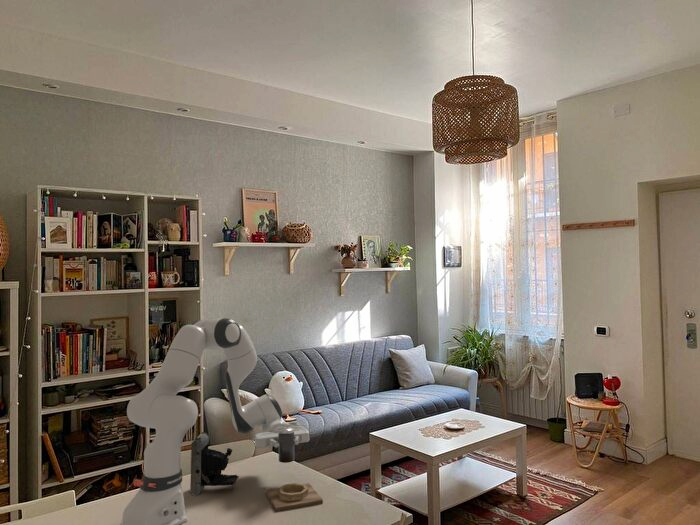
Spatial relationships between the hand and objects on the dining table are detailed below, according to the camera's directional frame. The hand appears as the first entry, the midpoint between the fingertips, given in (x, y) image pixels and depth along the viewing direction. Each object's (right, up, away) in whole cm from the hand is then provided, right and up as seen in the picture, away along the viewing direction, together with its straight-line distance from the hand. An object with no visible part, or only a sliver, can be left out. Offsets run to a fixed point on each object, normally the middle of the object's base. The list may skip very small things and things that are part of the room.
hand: (287, 443), depth 191 cm
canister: (0, -6, +1) cm, 6 cm away
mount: (+3, -16, -7) cm, 18 cm away
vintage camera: (-26, -17, +2) cm, 31 cm away
